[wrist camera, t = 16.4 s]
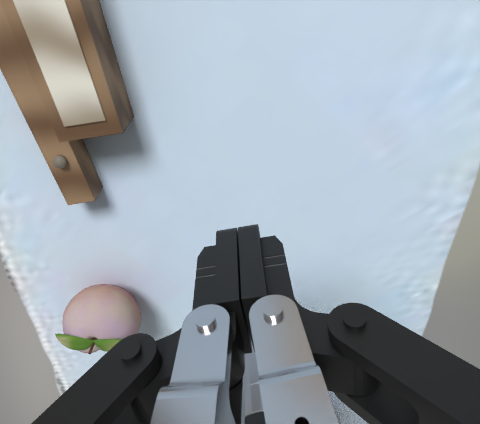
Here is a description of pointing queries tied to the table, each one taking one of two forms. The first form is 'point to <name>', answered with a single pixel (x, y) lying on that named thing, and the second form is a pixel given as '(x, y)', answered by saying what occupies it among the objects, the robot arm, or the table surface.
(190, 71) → the table surface
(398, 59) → the table surface
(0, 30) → the walnut rail
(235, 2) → the table surface
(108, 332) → the decorative fruit
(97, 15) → the walnut frame
